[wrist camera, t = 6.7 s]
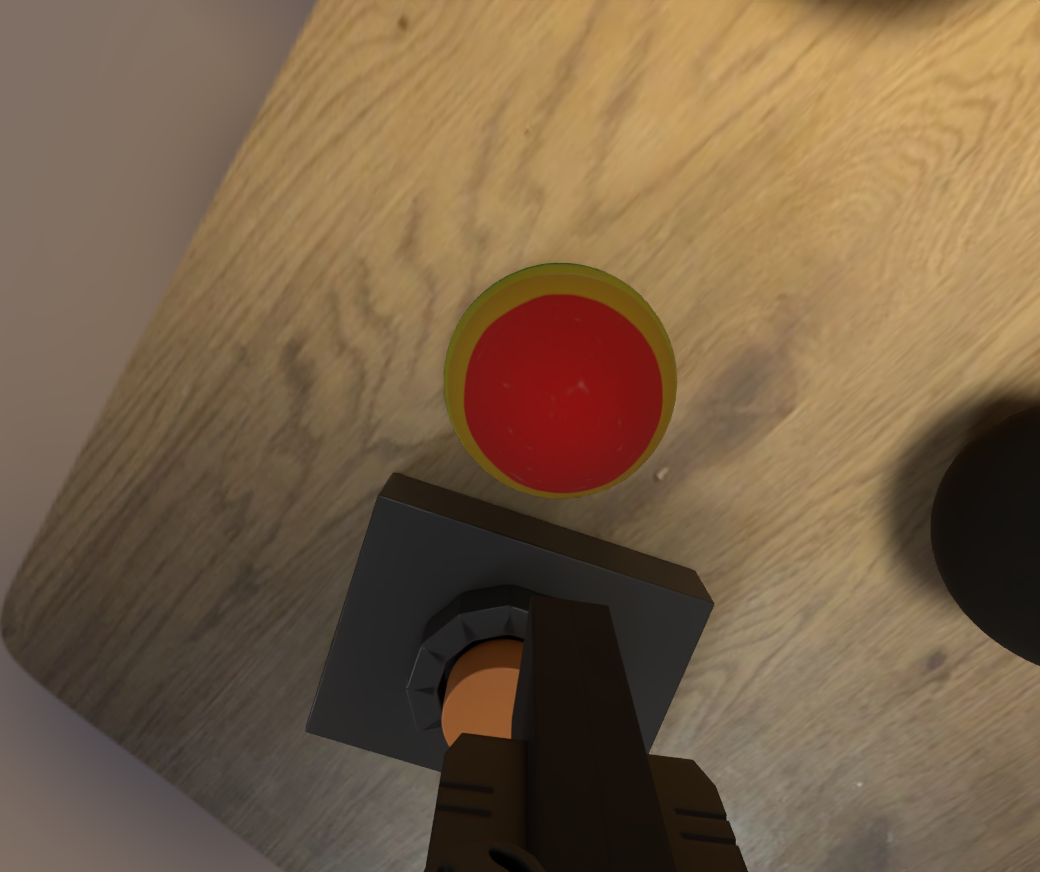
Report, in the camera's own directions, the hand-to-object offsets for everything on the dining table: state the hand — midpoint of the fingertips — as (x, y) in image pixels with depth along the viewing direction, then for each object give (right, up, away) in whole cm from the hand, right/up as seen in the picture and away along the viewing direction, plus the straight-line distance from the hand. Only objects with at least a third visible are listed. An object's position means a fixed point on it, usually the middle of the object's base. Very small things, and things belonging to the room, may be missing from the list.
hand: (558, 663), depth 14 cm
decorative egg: (+1, +7, +15) cm, 17 cm away
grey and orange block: (-1, -4, +18) cm, 19 cm away
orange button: (-1, -5, +13) cm, 15 cm away
